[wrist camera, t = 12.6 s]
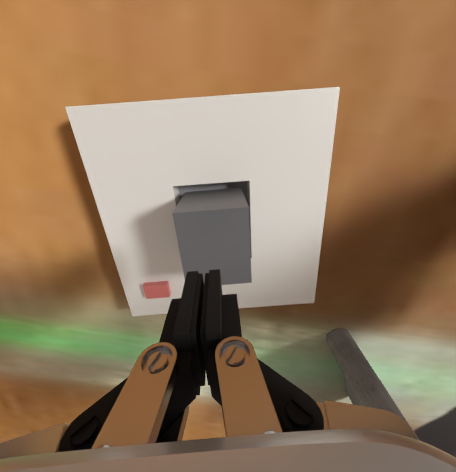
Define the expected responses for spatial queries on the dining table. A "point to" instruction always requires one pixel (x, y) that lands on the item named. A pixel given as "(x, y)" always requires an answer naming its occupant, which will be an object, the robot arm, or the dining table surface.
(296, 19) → the dining table surface
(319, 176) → the socket
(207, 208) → the plug
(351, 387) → the hip flask
